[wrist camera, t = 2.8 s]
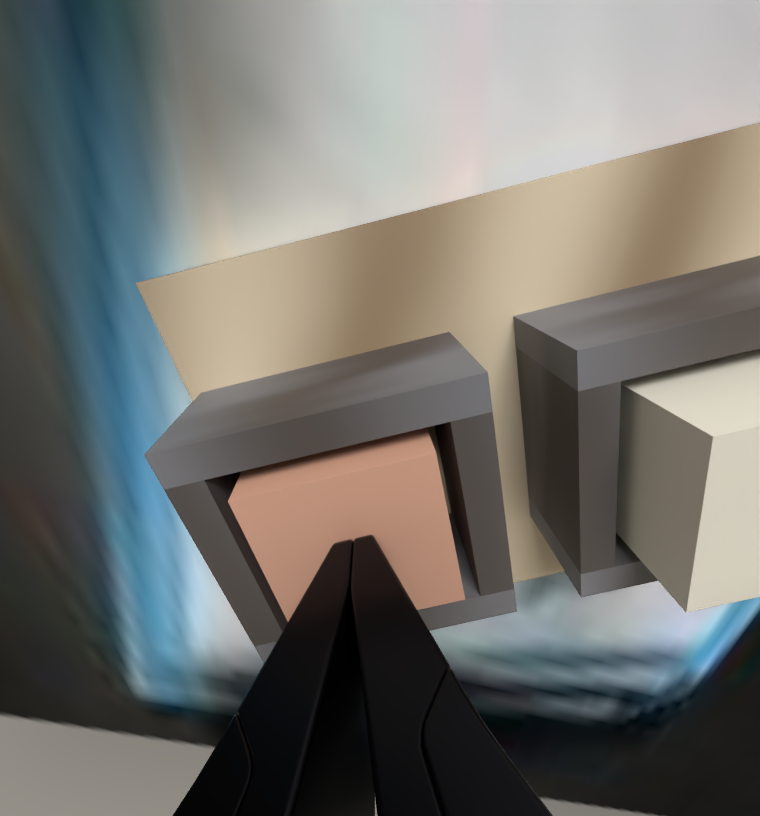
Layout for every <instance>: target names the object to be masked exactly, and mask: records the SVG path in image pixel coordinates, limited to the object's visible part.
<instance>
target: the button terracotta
mask: <svg viewBox="0 0 760 816" xmlns="http://www.w3.org/2000/svg"><path fill="white" fill-rule="evenodd" d="M228 503H229V505H230V507H231V509H232V511H233V513H234V515H235V517H236V519H237V521H238V523H239V525H240V527H241V529H242V531H243V533H244V535H245V537H246V539H247V541H248V543H249V545H250V547H251V549H252V551H253V553H254V555H255V557H256V559H257V561H258V563H259V565H260V567H261V569H262V571H263V573H264V575H265V577H266V579H267V581H268V583H269V585H270V587H271V589H272V591H273V593H274V595H275V597H276V599H277V601H278V603H279V605H280V607H281V609H282V611H283V613H284V615H285V617H286V619H287V621H289V620H290V618H291V616H292V614H293V613H294V611H295V609H296V607H297V606H298V604H299V602H300V600H301V599H302V597H303V595H304V594H305V592H306V590H307V588H308V587H309V585H310V583H311V581H312V580H313V578H314V576H315V574H316V573H317V571H318V569H319V568H320V566H321V564H322V562H323V561H324V559H325V557H326V555H327V554H328V552H329V550H330V548H331V547H332V545H333V544H334V543H336V542H340V541H345V540H349V539H351V540H353V541H354V540H355V538H358V537H362V536H366V535H373V536H374V537H375V539H376V540H377V542H378V544H379V546H380V547H381V549H382V551H383V552H384V554H385V556H386V558H387V559H388V561H389V563H390V564H391V566H392V568H393V570H394V571H395V573H396V575H397V576H398V578H399V580H400V582H401V583H402V585H403V587H404V588H405V590H406V592H407V594H408V595H409V597H410V599H411V600H412V602H413V604H414V606H415V607H416V609H417V610H420V609H425V608H429V607H434V606H438V605H443V604H447V603H452V602H456V601H461V600H465V595H464V590H463V585H462V580H461V575H460V569H459V564H458V559H457V554H456V549H455V544H454V539H453V534H452V529H451V524H450V519H449V514H448V509H447V504H446V499H445V494H444V489H443V484H442V479H441V474H440V469H439V464H438V459H437V454H436V451H435V448H434V446H433V443H432V440H431V438H430V435H429V432H428V430H427V427H426V428H422V429H418V430H413V431H409V432H405V433H401V434H397V435H392V436H388V437H384V438H380V439H375V440H371V441H367V442H363V443H359V444H354V445H350V446H346V447H342V448H338V449H333V450H329V451H325V452H321V453H316V454H312V455H308V456H304V457H300V458H295V459H291V460H287V461H283V462H279V463H274V464H270V465H266V466H262V467H257V468H253V469H249V470H245V471H242V472H241V474H240V476H239V478H238V480H237V483H236V485H235V487H234V489H233V491H232V494H231V496H230V498H229V500H228Z"/></svg>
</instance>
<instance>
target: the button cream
mask: <svg viewBox="0 0 760 816" xmlns="http://www.w3.org/2000/svg"><path fill="white" fill-rule="evenodd" d="M616 533H617V534H618V535H619V536H620V537H621V538H622V540H623V541H624V542H625V543H626V544H627V545H628V546H629V548H630V549H631V550H632V551H633V552H634V553H635V554H636V556H637V557H638V558H639V559H640V560H641V561H642V563H643V564H644V565H645V566H646V567H647V568H648V569H649V571H650V572H651V573H652V574H653V575H654V576H655V577H656V579H657V580H658V581H659V582H660V583H661V584H662V585H663V587H664V588H665V589H666V590H667V591H668V592H669V593H670V595H671V596H672V597H673V598H674V599H675V600H676V601H677V603H678V604H679V605H680V606H681V607H682V608H683V609H684V611H685V612H691V611H696V610H700V609H705V608H710V607H714V606H719V605H723V604H728V603H733V602H737V601H742V600H747V599H751V598H756V597H760V348H759V349H755V350H751V351H747V352H742V353H738V354H734V355H730V356H726V357H721V358H717V359H713V360H709V361H704V362H700V363H696V364H692V365H688V366H683V367H679V368H675V369H671V370H666V371H662V372H658V373H654V374H650V375H645V376H641V377H637V378H633V379H629V380H624V381H621V398H620V426H619V455H618V483H617V512H616Z"/></svg>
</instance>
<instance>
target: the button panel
mask: <svg viewBox="0 0 760 816" xmlns="http://www.w3.org/2000/svg"><path fill="white" fill-rule="evenodd" d="M136 285H137V287H138V289H139V291H140V293H141V295H142V297H143V299H144V301H145V304H146V306H147V308H148V310H149V312H150V314H151V316H152V318H153V320H154V322H155V324H156V326H157V328H158V331H159V333H160V335H161V337H162V339H163V341H164V343H165V345H166V347H167V349H168V351H169V353H170V355H171V358H172V360H173V362H174V364H175V366H176V368H177V370H178V372H179V374H180V376H181V378H182V380H183V383H184V385H185V387H186V389H187V391H188V393H189V395H190V397H191V399H192V401H193V402H192V403H191V404H190V405H189V406H188V407H187V409H186V410H185V411H184V412H183V413H182V414H181V415H180V416H179V417H178V418H177V419H176V421H175V422H174V423H173V424H172V425H171V426H170V427H169V428H168V429H167V430H166V432H165V433H164V434H163V435H162V436H161V437H160V438H159V439H158V440H157V441H156V442H155V444H154V445H153V446H152V447H151V448H150V449H149V450H148V451H147V452H146V453H145V454H144V456H145V457H146V459H147V461H148V463H149V464H150V466H151V468H152V470H153V471H154V473H155V475H156V477H157V478H158V480H159V482H160V483H161V485H162V487H163V489H164V490H165V492H166V494H167V496H168V497H169V499H170V501H171V503H172V504H173V506H174V508H175V509H176V511H177V513H178V515H179V516H180V518H181V520H182V522H183V523H184V525H185V527H186V529H187V530H188V532H189V534H190V535H191V537H192V539H193V541H194V542H195V544H196V546H197V548H198V549H199V551H200V553H201V555H202V556H203V558H204V560H205V561H206V563H207V565H208V567H209V568H210V570H211V572H212V574H213V575H214V577H215V579H216V581H217V582H218V584H219V586H220V587H221V589H222V591H223V593H224V594H225V596H226V598H227V600H228V601H229V603H230V605H231V607H232V608H233V610H234V612H235V613H236V615H237V617H238V619H239V620H240V622H241V624H242V626H243V627H244V629H245V631H246V633H247V634H248V636H249V638H250V640H251V641H252V643H253V645H254V646H255V648H256V650H257V652H258V653H259V655H260V657H261V659H262V660H263V662H264V663H265V661H266V659H267V658H268V656H269V654H270V653H271V651H272V649H273V647H274V646H275V644H276V642H277V640H278V639H279V637H280V635H281V633H282V632H283V630H284V628H285V627H286V625H287V623H288V621H287V619H286V617H285V615H284V613H283V611H282V609H281V607H280V605H279V603H278V601H277V599H276V597H275V595H274V593H273V591H272V589H271V587H270V585H269V583H268V581H267V579H266V577H265V575H264V573H263V571H262V569H261V567H260V565H259V563H258V561H257V559H256V557H255V555H254V553H253V551H252V549H251V547H250V545H249V543H248V541H247V539H246V537H245V535H244V533H243V531H242V529H241V527H240V525H239V523H238V521H237V519H236V517H235V515H234V513H233V511H232V509H231V507H230V505H229V503H228V500H229V498H230V496H231V494H232V491H233V489H234V487H235V485H236V483H237V480H238V478H239V476H240V474H241V472H242V471H245V470H249V469H253V468H257V467H262V466H266V465H270V464H274V463H279V462H283V461H287V460H291V459H295V458H300V457H304V456H308V455H312V454H316V453H321V452H325V451H329V450H333V449H338V448H342V447H346V446H350V445H354V444H359V443H363V442H367V441H371V440H375V439H380V438H384V437H388V436H392V435H397V434H401V433H405V432H409V431H413V430H418V429H422V428H426V427H427V430H428V432H429V435H430V438H431V440H432V443H433V446H434V448H435V451H436V454H437V459H438V464H439V469H440V474H441V479H442V484H443V489H444V494H445V499H446V504H447V509H448V514H449V519H450V524H451V529H452V534H453V539H454V544H455V549H456V554H457V559H458V564H459V569H460V575H461V580H462V585H463V590H464V595H465V600H461V601H456V602H452V603H447V604H443V605H438V606H434V607H429V608H425V609H420V610H417V611H418V612H419V614H420V616H421V618H422V619H423V621H424V623H425V624H426V626H427V628H428V630H429V631H430V630H434V629H439V628H443V627H448V626H452V625H457V624H462V623H466V622H471V621H475V620H480V619H484V618H489V617H494V616H498V615H503V614H507V613H512V612H516V611H517V610H516V601H515V593H514V585H513V583H515V582H520V581H524V580H529V579H533V578H538V577H542V576H547V575H551V574H556V573H560V572H566V574H567V575H568V577H569V579H570V580H571V582H572V583H573V585H574V587H575V588H576V590H577V591H578V593H579V595H580V596H581V597H585V596H590V595H594V594H599V593H603V592H608V591H612V590H617V589H622V588H626V587H631V586H635V585H640V584H644V583H649V582H654V581H658V580H657V579H656V577H655V576H654V575H653V574H652V573H651V572H650V571H649V569H648V568H647V567H646V566H645V565H644V564H643V563H642V561H641V560H640V559H639V558H638V557H637V556H636V554H635V553H634V552H633V551H632V550H631V549H630V548H629V546H628V545H627V544H626V543H625V542H624V541H623V540H622V538H621V537H620V536H619V535H618V534H617V533H616V512H617V483H618V455H619V426H620V398H621V381H624V380H629V379H633V378H637V377H641V376H645V375H650V374H654V373H658V372H662V371H666V370H671V369H675V368H679V367H683V366H688V365H692V364H696V363H700V362H704V361H709V360H713V359H717V358H721V357H726V356H730V355H734V354H738V353H742V352H747V351H751V350H755V349H759V348H760V123H757V124H753V125H749V126H745V127H741V128H737V129H733V130H729V131H725V132H721V133H718V134H714V135H710V136H706V137H702V138H698V139H694V140H690V141H686V142H683V143H679V144H675V145H671V146H667V147H663V148H659V149H655V150H651V151H648V152H644V153H640V154H636V155H632V156H628V157H624V158H620V159H616V160H613V161H609V162H605V163H601V164H597V165H593V166H589V167H585V168H581V169H577V170H574V171H570V172H566V173H562V174H558V175H554V176H550V177H546V178H542V179H539V180H535V181H531V182H527V183H523V184H519V185H515V186H511V187H507V188H504V189H500V190H496V191H492V192H488V193H484V194H480V195H476V196H472V197H468V198H465V199H461V200H457V201H453V202H449V203H445V204H441V205H437V206H433V207H430V208H426V209H422V210H418V211H414V212H410V213H406V214H402V215H398V216H395V217H391V218H387V219H383V220H379V221H375V222H371V223H367V224H363V225H360V226H356V227H352V228H348V229H344V230H340V231H336V232H332V233H328V234H324V235H321V236H317V237H313V238H309V239H305V240H301V241H297V242H293V243H289V244H286V245H282V246H278V247H274V248H270V249H266V250H262V251H258V252H254V253H251V254H247V255H243V256H239V257H235V258H231V259H227V260H223V261H219V262H216V263H212V264H208V265H204V266H200V267H196V268H192V269H188V270H184V271H180V272H177V273H173V274H169V275H165V276H161V277H157V278H153V279H149V280H145V281H142V282H138V283H136Z"/></svg>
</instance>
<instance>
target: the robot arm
mask: <svg viewBox="0 0 760 816" xmlns="http://www.w3.org/2000/svg"><path fill="white" fill-rule="evenodd" d="M237 713H238V715H235V716H233V718H232V720H231V722H230V723H229V725H228V727H227V729H226V730H225V732H224V734H223V735H222V737H221V739H220V741H219V742H218V744H217V746H216V747H215V749H214V751H213V752H212V754H211V756H210V757H209V759H208V761H207V762H206V764H205V766H204V768H203V769H202V771H201V772H200V774H199V776H198V777H197V779H196V781H195V782H194V784H193V785H192V787H191V788H190V790H189V791H188V793H187V795H186V796H185V798H184V799H183V801H182V802H181V804H180V805H179V807H178V808H177V810H176V812H175V813H174V814H173V816H375V798H376V807H377V814H378V816H552V814H551V813H550V811H549V810H548V809H547V807H546V806H545V805H544V803H543V802H542V801H541V799H540V798H539V797H538V795H537V794H536V793H535V791H534V790H533V789H532V787H531V786H530V785H529V783H528V782H527V781H526V779H525V778H524V777H523V776H522V774H521V773H520V772H519V770H518V769H517V768H516V766H515V765H514V764H513V762H512V761H511V759H510V758H509V757H508V755H507V754H506V752H505V751H504V750H503V748H502V747H501V745H500V744H499V743H498V741H497V740H496V738H495V737H494V736H493V734H492V733H491V731H490V730H489V729H488V727H487V726H486V724H485V723H484V721H483V720H482V718H481V716H480V715H479V713H478V712H477V710H476V708H475V707H474V705H473V704H472V702H471V700H470V699H469V697H468V696H467V694H466V692H465V691H464V689H463V687H462V686H461V684H460V682H459V681H458V679H457V677H456V675H455V674H454V672H453V670H451V669H450V666H449V664H448V662H447V660H446V659H445V657H444V655H443V654H442V652H441V650H440V648H439V647H438V645H437V643H436V642H435V640H434V638H433V636H432V635H431V633H430V631H429V630H428V628H427V626H426V624H425V623H424V621H423V619H422V618H421V616H420V614H419V612H418V611H417V609H416V607H415V606H414V604H413V602H412V600H411V599H410V597H409V595H408V594H407V592H406V590H405V588H404V587H403V585H402V583H401V582H400V580H399V578H398V576H397V575H396V573H395V571H394V570H393V568H392V566H391V564H390V563H389V561H388V559H387V558H386V556H385V554H384V552H383V551H382V549H381V547H380V546H379V544H378V542H377V540H376V539H375V537H374V536H373V535H366V536H362V537H358V538H355V540H354V541H353V540H351V539H349V540H345V541H340V542H336V543H334V544H333V545H332V547H331V548H330V550H329V552H328V554H327V555H326V557H325V559H324V561H323V562H322V564H321V566H320V568H319V569H318V571H317V573H316V574H315V576H314V578H313V580H312V581H311V583H310V585H309V587H308V588H307V590H306V592H305V594H304V595H303V597H302V599H301V600H300V602H299V604H298V606H297V607H296V609H295V611H294V613H293V614H292V616H291V618H290V620H289V621H288V623H287V625H286V627H285V628H284V630H283V632H282V633H281V635H280V637H279V639H278V640H277V642H276V644H275V646H274V647H273V649H272V651H271V653H270V654H269V656H268V658H267V659H266V661H265V663H264V665H263V666H262V668H261V670H260V672H259V673H258V675H257V677H256V679H255V680H254V682H253V684H252V686H251V687H250V689H249V691H248V692H247V694H246V696H245V698H244V699H243V701H242V703H241V705H240V706H239V708H238V710H237Z"/></svg>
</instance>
